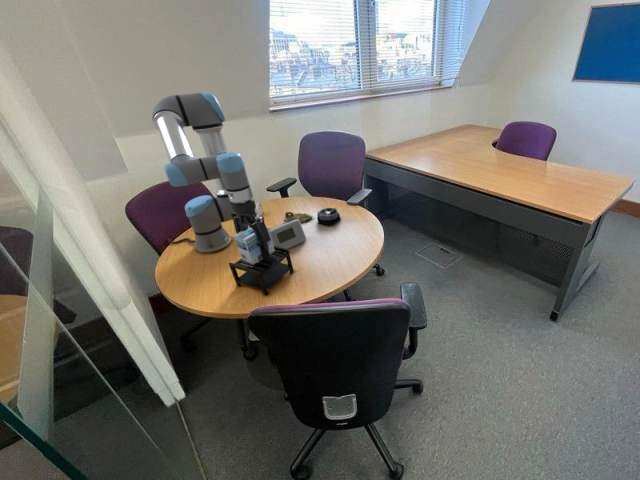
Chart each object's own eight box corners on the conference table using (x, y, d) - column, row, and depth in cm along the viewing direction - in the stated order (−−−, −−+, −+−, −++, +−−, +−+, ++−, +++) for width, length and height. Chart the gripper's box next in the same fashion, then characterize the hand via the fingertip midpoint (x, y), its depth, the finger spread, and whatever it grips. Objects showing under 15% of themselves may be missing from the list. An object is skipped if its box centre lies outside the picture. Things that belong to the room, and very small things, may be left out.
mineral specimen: (253, 212, 177) (250, 202, 174) (265, 212, 177) (262, 202, 173) (242, 222, 167) (239, 212, 163) (255, 222, 166) (252, 212, 163)
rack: (237, 286, 121) (228, 263, 115) (266, 263, 133) (259, 242, 127) (266, 296, 115) (258, 272, 109) (294, 271, 127) (288, 249, 121)
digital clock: (275, 255, 138) (269, 234, 132) (269, 246, 145) (264, 226, 139) (309, 243, 145) (305, 223, 140) (302, 235, 152) (298, 216, 146)
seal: (314, 216, 171) (287, 217, 172) (313, 208, 169) (286, 209, 170) (310, 223, 163) (282, 223, 163) (309, 214, 161) (280, 215, 161)
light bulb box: (253, 265, 112) (244, 240, 107) (241, 260, 116) (232, 235, 110) (275, 250, 120) (269, 226, 114) (264, 246, 123) (257, 222, 118)
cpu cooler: (341, 209, 162) (329, 217, 155) (342, 219, 165) (331, 227, 158) (326, 205, 167) (313, 213, 159) (327, 215, 170) (315, 223, 162)
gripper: (212, 199, 107) (232, 254, 119) (255, 208, 99) (272, 266, 111) (229, 191, 112) (247, 244, 124) (271, 199, 105) (286, 255, 117)
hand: (258, 254), depth 118 cm, fingers closed on light bulb box, 7 cm apart
